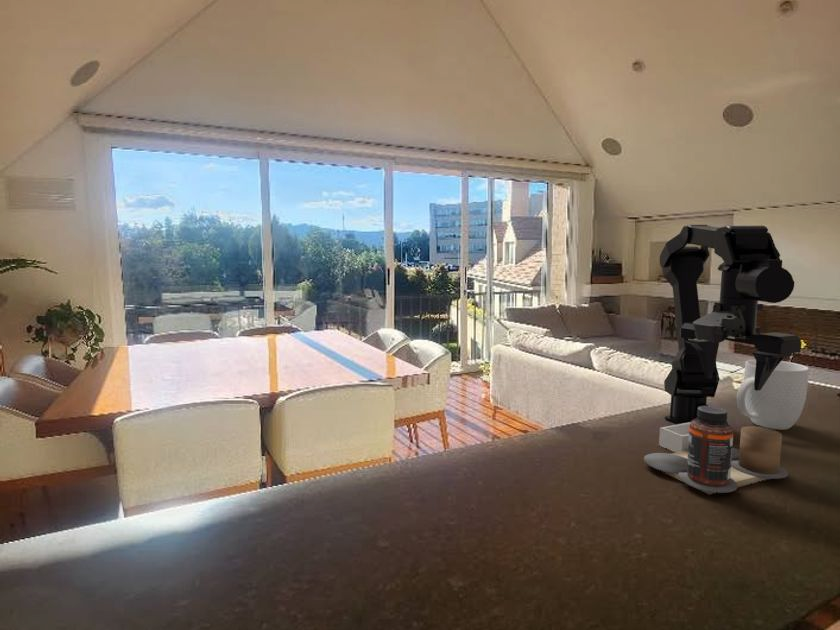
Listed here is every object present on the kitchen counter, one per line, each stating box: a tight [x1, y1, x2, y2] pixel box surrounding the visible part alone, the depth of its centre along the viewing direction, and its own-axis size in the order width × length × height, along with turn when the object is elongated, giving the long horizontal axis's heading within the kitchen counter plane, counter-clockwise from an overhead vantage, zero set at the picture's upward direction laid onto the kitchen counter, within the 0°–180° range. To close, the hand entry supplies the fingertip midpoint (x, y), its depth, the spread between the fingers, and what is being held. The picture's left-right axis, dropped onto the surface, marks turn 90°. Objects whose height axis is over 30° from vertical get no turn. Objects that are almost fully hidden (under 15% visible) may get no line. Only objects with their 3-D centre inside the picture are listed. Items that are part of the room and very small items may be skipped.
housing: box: [658, 422, 690, 453], centre depth 95 cm, size 5×8×4 cm, turn 113°
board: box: [643, 425, 789, 495], centre depth 84 cm, size 15×20×7 cm
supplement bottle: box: [687, 405, 734, 486], centre depth 78 cm, size 6×6×11 cm
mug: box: [736, 359, 810, 431], centre depth 106 cm, size 15×11×13 cm
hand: (732, 383), depth 90 cm, fingers open, 9 cm apart
